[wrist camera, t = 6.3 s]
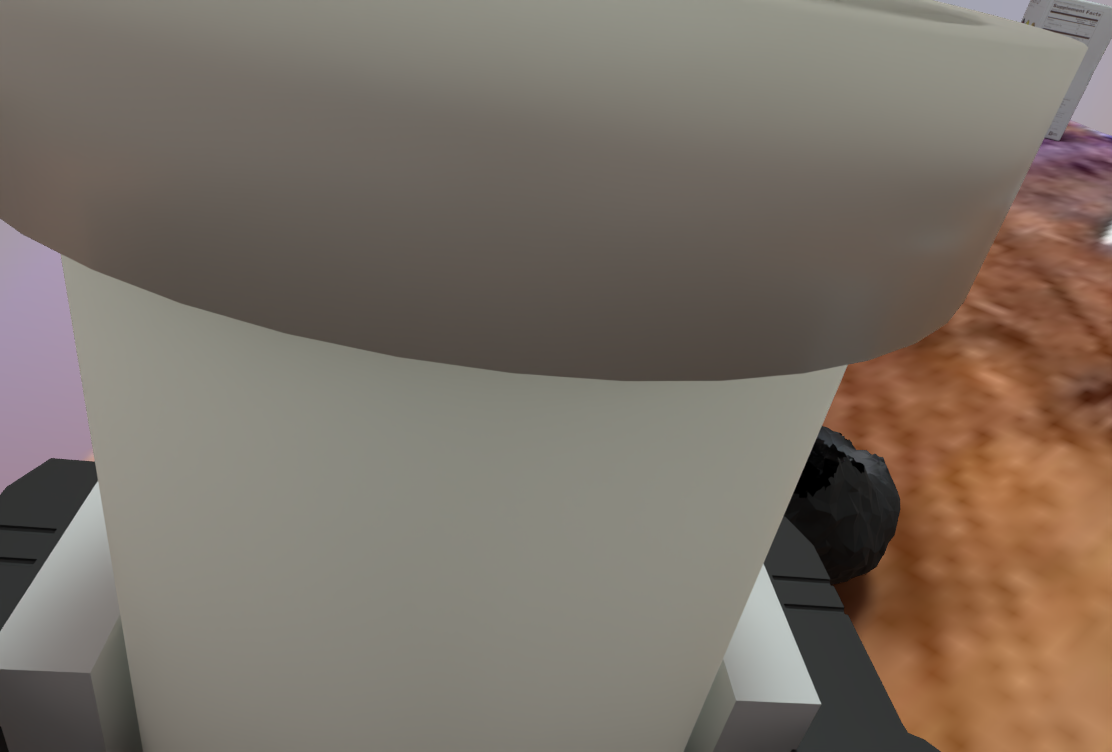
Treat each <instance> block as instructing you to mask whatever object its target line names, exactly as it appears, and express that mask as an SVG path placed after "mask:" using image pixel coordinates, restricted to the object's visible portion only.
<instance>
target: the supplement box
mask: <svg viewBox="0 0 1112 752" xmlns="http://www.w3.org/2000/svg"><path fill="white" fill-rule="evenodd" d="M1021 23H1024V24H1027V25H1031V26H1034V27H1038V28H1041V29H1045V30H1048V31H1051V32H1055V33H1058V34H1061V35H1064V36H1067V37H1070V38H1072V39H1075V40H1077V41H1080V42H1082V43H1084V44H1085V45H1086V46H1087V47H1088V50H1087V52H1086V54H1085V56H1084V58H1083V60H1082V62H1081V64H1080V66H1079V68H1078V70H1077V72H1076V74H1075V76H1074V78H1073V80H1072V82H1071V84H1070V86H1069V88H1068V90H1067V92H1066V95H1065V97H1064V99H1063V101H1062V103H1061V105H1060V107H1059V109H1058V111H1057V113H1056V115H1055V117H1054V119H1053V121H1052V123H1051V125H1050V127H1049V129H1048V131H1047V133H1046V135H1045V137H1044V138H1047V139H1051V140H1056V141H1060V139H1061V137H1062V135H1063V133H1064V131H1065V129H1066V127H1067V125H1068V123H1069V121H1070V119H1071V117H1072V115H1073V113H1074V111H1075V109H1076V107H1077V105H1078V103H1079V101H1080V99H1081V97H1082V95H1083V93H1084V91H1085V89H1086V87H1087V85H1088V83H1089V81H1090V79H1091V77H1092V75H1093V73H1094V71H1095V69H1096V67H1097V65H1098V63H1099V61H1100V59H1101V57H1102V56H1103V54H1104V51H1105V50H1106V48H1107V46H1108V44H1109V42H1110V40H1111V38H1112V7H1110V6H1107V5H1103V4H1099V3H1095V2H1090V1H1085V0H1031V1H1030V3H1029V5H1028V7H1027V10H1026V12H1025V14H1024V16H1023V19H1022V21H1021Z"/></svg>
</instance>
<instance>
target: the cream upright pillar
mask: <svg viewBox="0 0 1112 752" xmlns="http://www.w3.org/2000/svg"><path fill="white" fill-rule="evenodd" d="M1087 50H1088V47H1087V46H1086V45H1085V44H1084V43H1082V42H1080V41H1077V40H1075V39H1072V38H1070V37H1067V36H1064V35H1061V34H1058V33H1055V32H1051V31H1048V30H1045V29H1041V28H1038V27H1034V26H1031V25H1027V24H1024V23H1020V22H1017V21H1013V20H1009V19H1005V18H1001V17H998V16H994V15H990V14H986V13H982V12H978V11H974V10H970V9H966V8H962V7H958V6H954V5H950V4H946V3H942V2H938V1H934V0H0V219H2V220H3V221H5V222H6V223H7V224H9V225H10V226H12V227H13V228H15V229H16V230H17V231H19V232H20V233H21V234H23V235H25V236H27V237H29V238H31V239H33V240H35V241H37V242H39V243H41V244H43V245H45V246H47V247H49V248H50V249H53V250H54V251H57V252H58V253H60V254H61V259H62V266H63V271H64V278H65V284H66V289H67V295H68V302H69V307H70V314H71V319H72V326H73V332H74V338H75V344H76V350H77V356H78V362H79V368H80V374H81V380H82V386H83V392H84V398H85V404H86V411H87V416H88V423H89V429H90V434H91V441H92V447H93V453H94V459H95V465H96V471H97V477H98V483H99V489H100V495H101V501H102V507H103V513H104V519H105V525H106V531H107V538H108V544H109V550H110V556H111V562H112V568H113V574H114V580H115V586H116V592H117V598H118V604H119V610H120V616H121V622H122V628H123V634H124V640H125V646H126V652H127V658H128V664H129V670H130V677H131V683H132V689H133V695H134V701H135V707H136V713H137V719H138V725H139V731H140V737H141V743H142V749H143V752H684V749H685V747H686V745H687V742H688V740H689V738H690V735H691V733H692V730H693V728H694V726H695V723H696V721H697V719H698V716H699V714H700V712H701V709H702V707H703V705H704V702H705V700H706V697H707V695H708V693H709V690H710V688H711V686H712V683H713V681H714V679H715V676H716V674H717V672H718V669H719V667H720V664H721V662H722V660H723V657H724V655H725V653H726V650H727V648H728V646H729V643H730V641H731V639H732V636H733V634H734V631H735V629H736V627H737V624H738V622H739V620H740V617H741V615H742V613H743V610H744V608H745V606H746V603H747V601H748V598H749V596H750V594H751V591H752V589H753V587H754V584H755V582H756V580H757V577H758V575H759V573H760V570H761V568H762V566H763V563H764V561H765V558H766V556H767V554H768V551H769V549H770V547H771V544H772V542H773V540H774V537H775V535H776V533H777V530H778V528H779V525H780V523H781V521H782V518H783V516H784V514H785V511H786V509H787V507H788V504H789V502H790V500H791V497H792V495H793V492H794V490H795V488H796V485H797V483H798V481H799V478H800V476H801V474H802V471H803V469H804V467H805V464H806V462H807V459H808V457H809V455H810V452H811V450H812V448H813V445H814V443H815V441H816V438H817V436H818V434H819V431H820V429H821V426H822V424H823V422H824V419H825V417H826V415H827V412H828V410H829V408H830V405H831V403H832V401H833V398H834V396H835V393H836V391H837V389H838V386H839V384H840V382H841V379H842V377H843V375H844V372H845V370H846V368H847V365H848V364H853V363H858V362H863V361H868V360H871V359H874V358H876V357H879V356H882V355H885V354H887V353H890V352H893V351H896V350H898V349H901V348H904V347H907V346H909V345H912V344H915V343H917V342H918V341H920V340H922V339H923V338H925V337H926V336H928V335H929V334H931V333H932V332H934V331H936V330H937V329H939V328H940V327H942V326H943V325H945V324H947V323H948V321H949V320H950V319H951V318H952V316H953V315H954V314H955V313H956V311H957V310H958V309H959V307H960V306H961V305H962V304H963V302H964V301H965V299H966V297H967V295H968V293H969V291H970V288H971V286H972V284H973V282H974V280H975V278H976V276H977V274H978V272H979V270H980V268H981V266H982V264H983V262H984V260H985V258H986V256H987V254H988V252H989V250H990V248H991V246H992V244H993V242H994V239H995V237H996V235H997V233H998V231H999V229H1000V227H1001V225H1002V223H1003V221H1004V219H1005V217H1006V215H1007V213H1008V211H1009V209H1010V207H1011V205H1012V203H1013V201H1014V199H1015V197H1016V195H1017V193H1018V190H1019V188H1020V186H1021V184H1022V182H1023V180H1024V178H1025V176H1026V174H1027V172H1028V170H1029V168H1030V166H1031V164H1032V162H1033V160H1034V158H1035V156H1036V154H1037V152H1038V150H1039V148H1040V146H1041V144H1042V141H1043V139H1044V137H1045V135H1046V133H1047V131H1048V129H1049V127H1050V125H1051V123H1052V121H1053V119H1054V117H1055V115H1056V113H1057V111H1058V109H1059V107H1060V105H1061V103H1062V101H1063V99H1064V97H1065V95H1066V92H1067V90H1068V88H1069V86H1070V84H1071V82H1072V80H1073V78H1074V76H1075V74H1076V72H1077V70H1078V68H1079V66H1080V64H1081V62H1082V60H1083V58H1084V56H1085V54H1086V52H1087Z"/></svg>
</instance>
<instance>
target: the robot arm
mask: <svg viewBox="0 0 1112 752" xmlns="http://www.w3.org/2000/svg"><path fill="white" fill-rule="evenodd" d="M0 752H143V749H142V743H141V737H140V731H139V725H138V719H137V713H136V707H135V701H134V695H133V689H132V683H131V677H130V670H129V664H128V658H127V652H126V646H125V640H124V634H123V628H122V622H121V616H120V610H119V604H118V598H117V592H116V586H115V580H114V574H113V568H112V562H111V556H110V550H109V544H108V538H107V531H106V525H105V519H104V513H103V507H102V501H101V495H100V489H99V483H98V477H97V471H96V465H95V462H92V461H79V460H66V459H55V458H51V459H49V460H48V461H46V462H44V463H43V464H42V465H40V466H38V467H37V468H35V469H34V470H32V471H31V472H29V473H27V474H26V475H24V476H23V477H21V478H20V479H18V480H17V481H15V482H14V483H12V484H11V485H9V486H7V487H6V488H5V490H4V491H3V492H2V493H1V495H0ZM684 752H940V751H939V750H938V749H936V748H935V747H934V746H932V745H931V744H930V743H928V742H927V741H926V740H924V739H921V738H919V737H917V736H914V735H912V734H910V733H908V732H907V730H906V729H905V727H904V726H903V724H902V722H901V720H900V718H899V716H898V714H897V712H896V710H895V708H894V706H893V704H892V702H891V700H890V698H889V696H888V694H887V692H886V690H885V688H884V686H883V684H882V682H881V680H880V678H879V676H878V674H877V672H876V670H875V668H874V666H873V664H872V662H871V660H870V658H869V656H868V654H867V652H866V650H865V648H864V646H863V644H862V642H861V640H860V638H859V636H858V634H857V632H856V630H855V628H854V626H853V624H852V622H851V620H850V618H849V616H848V615H845V614H844V606H843V604H842V602H841V600H840V598H839V596H838V594H837V592H836V590H835V588H834V586H830V578H829V576H828V574H827V572H826V569H825V567H824V565H823V563H822V561H821V559H820V557H819V555H818V553H817V551H816V549H815V547H814V545H813V544H812V543H811V542H810V541H809V540H808V539H807V538H806V537H805V536H804V535H803V534H802V533H801V532H800V531H799V530H798V529H797V528H796V527H795V526H794V525H793V524H792V523H791V522H790V521H789V520H788V519H787V518H786V517H785V516H783V518H782V521H781V523H780V525H779V528H778V530H777V533H776V535H775V537H774V540H773V542H772V544H771V547H770V549H769V551H768V554H767V556H766V558H765V561H764V563H763V566H762V568H761V570H760V573H759V575H758V577H757V580H756V582H755V584H754V587H753V589H752V591H751V594H750V596H749V598H748V601H747V603H746V606H745V608H744V610H743V613H742V615H741V617H740V620H739V622H738V624H737V627H736V629H735V631H734V634H733V636H732V639H731V641H730V643H729V646H728V648H727V650H726V653H725V655H724V657H723V660H722V662H721V664H720V667H719V669H718V672H717V674H716V676H715V679H714V681H713V683H712V686H711V688H710V690H709V693H708V695H707V697H706V700H705V702H704V705H703V707H702V709H701V712H700V714H699V716H698V719H697V721H696V723H695V726H694V728H693V730H692V733H691V735H690V738H689V740H688V742H687V745H686V747H685V749H684Z"/></svg>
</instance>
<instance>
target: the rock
mask: <svg viewBox="0 0 1112 752" xmlns="http://www.w3.org/2000/svg"><path fill="white" fill-rule="evenodd" d="M899 512H900V498H899V495H898V491H897V489H896V487H895V484H894V482H893V480H892V478H891V476H890V473H889V471H888V468H887V466H886V464H885V461H884V458H883V457H878V456H877V455H876V454H873V455H871V454H870V453H869V452H868V451H867V450H856V449H855V448H854V446H853V445H852V442H851V441H850V440H847V439H845V437H844V436H842V434H841V433H838V432H834V431H832V430H830V429H829V428H827V427H824V426H821V429H820V431H819V434H818V436H817V438H816V441H815V443H814V445H813V448H812V450H811V452H810V455H809V457H808V459H807V462H806V464H805V467H804V469H803V471H802V474H801V476H800V478H799V481H798V483H797V485H796V488H795V490H794V492H793V495H792V497H791V500H790V502H789V504H788V507H787V509H786V511H785V514H784V516H785V517H786V518H787V519H788V520H789V521H790V522H791V523H792V524H793V525H794V526H795V527H796V528H797V529H798V530H799V531H800V532H801V533H802V534H803V535H804V536H805V537H806V538H807V539H808V540H809V541H810V542H811V543H812V544H813V545H814V547H815V549H816V551H817V553H818V555H819V557H820V559H821V561H822V563H823V565H824V567H825V569H826V572H827V574H828V576H829V578H830V585H832V584H838V583H841V582H846V581H848V580H850V579H851V578H854V577H856V576H860V575H863V574H866V573H868V572H869V571H871V570H872V569H874V568H875V567H877V565H878V563H879V561H880V559H881V558H882V556H883V555H884V553H885V551H886V548H887V545H888V543H889V541H890V540H891V539H892V538H893V536H894V535H895V530H896V526H897V521H898V517H899Z"/></svg>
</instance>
